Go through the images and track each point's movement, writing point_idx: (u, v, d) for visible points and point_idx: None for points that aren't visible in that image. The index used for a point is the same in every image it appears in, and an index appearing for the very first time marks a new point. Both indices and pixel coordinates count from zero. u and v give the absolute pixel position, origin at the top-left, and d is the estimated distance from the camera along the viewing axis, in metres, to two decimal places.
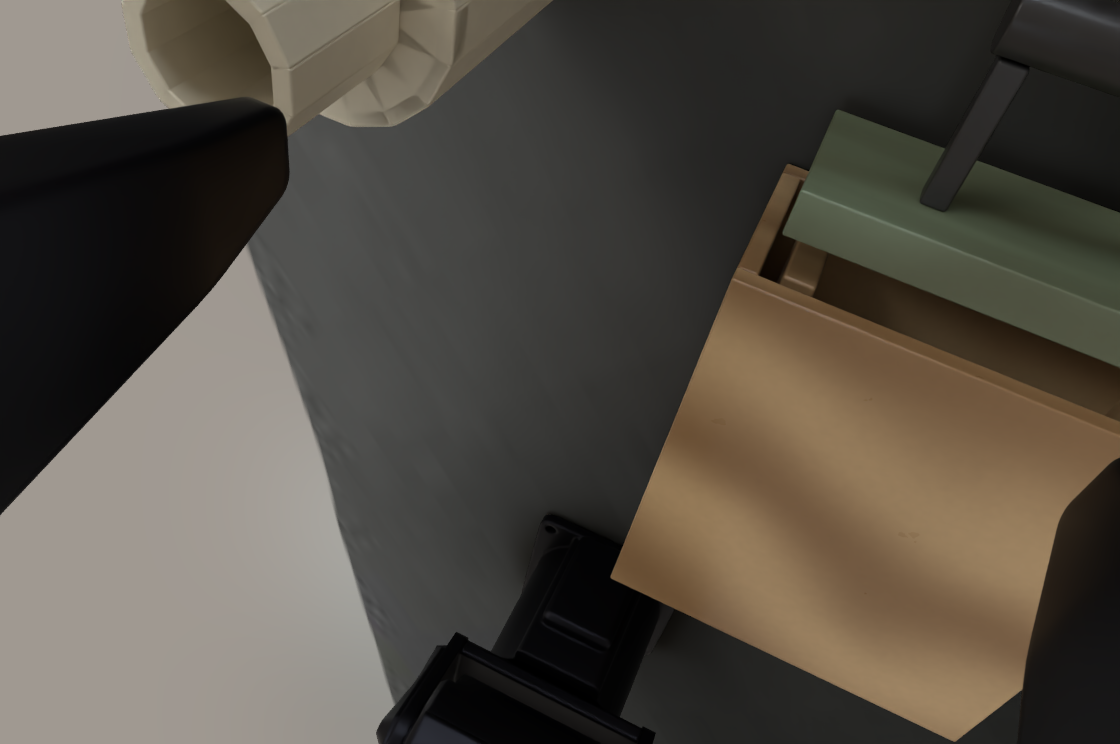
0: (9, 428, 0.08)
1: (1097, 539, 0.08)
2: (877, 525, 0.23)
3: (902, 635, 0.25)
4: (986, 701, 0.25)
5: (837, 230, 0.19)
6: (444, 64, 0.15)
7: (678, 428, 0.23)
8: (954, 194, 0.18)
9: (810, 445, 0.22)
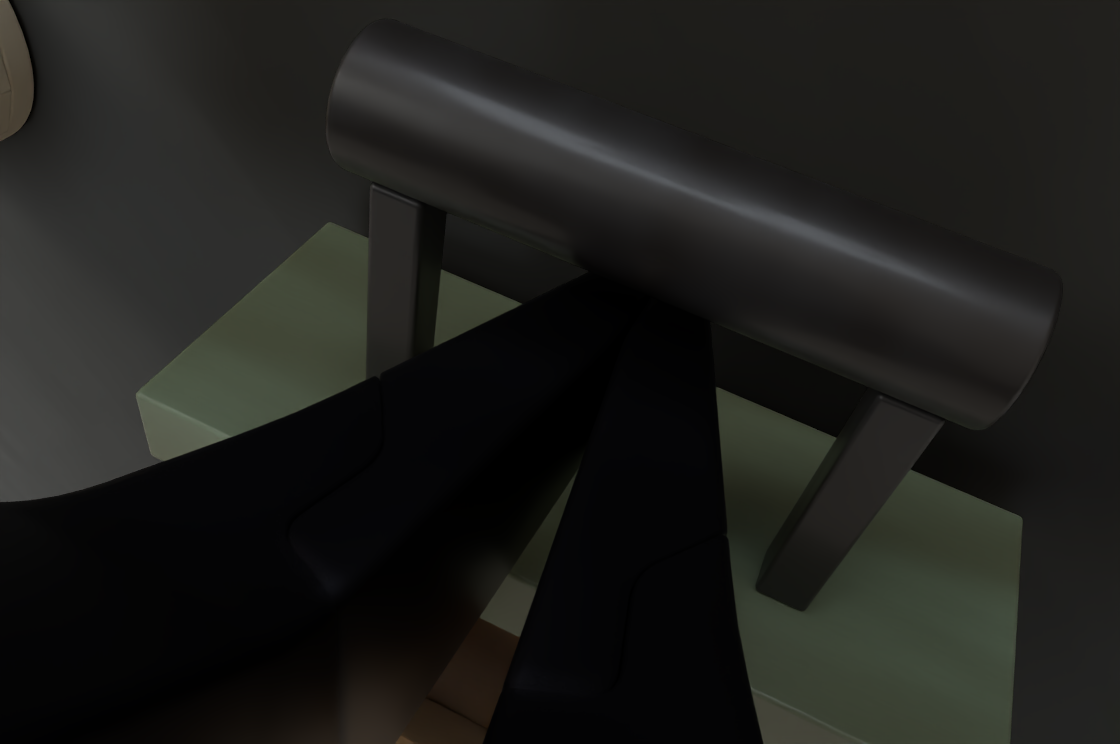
0: (439, 645, 0.07)
1: None
2: None
3: None
4: None
5: None
6: None
7: None
8: None
9: None
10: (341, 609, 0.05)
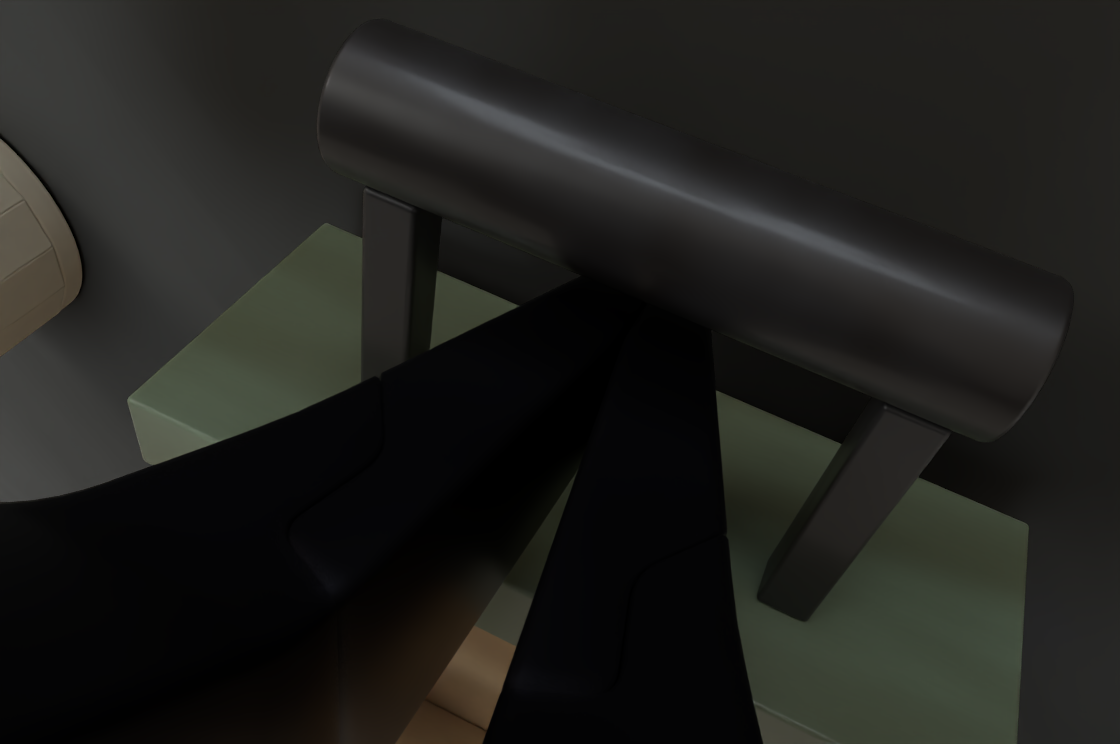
0: (439, 645, 0.07)
1: None
2: None
3: None
4: None
5: None
6: None
7: None
8: None
9: None
10: (341, 609, 0.05)
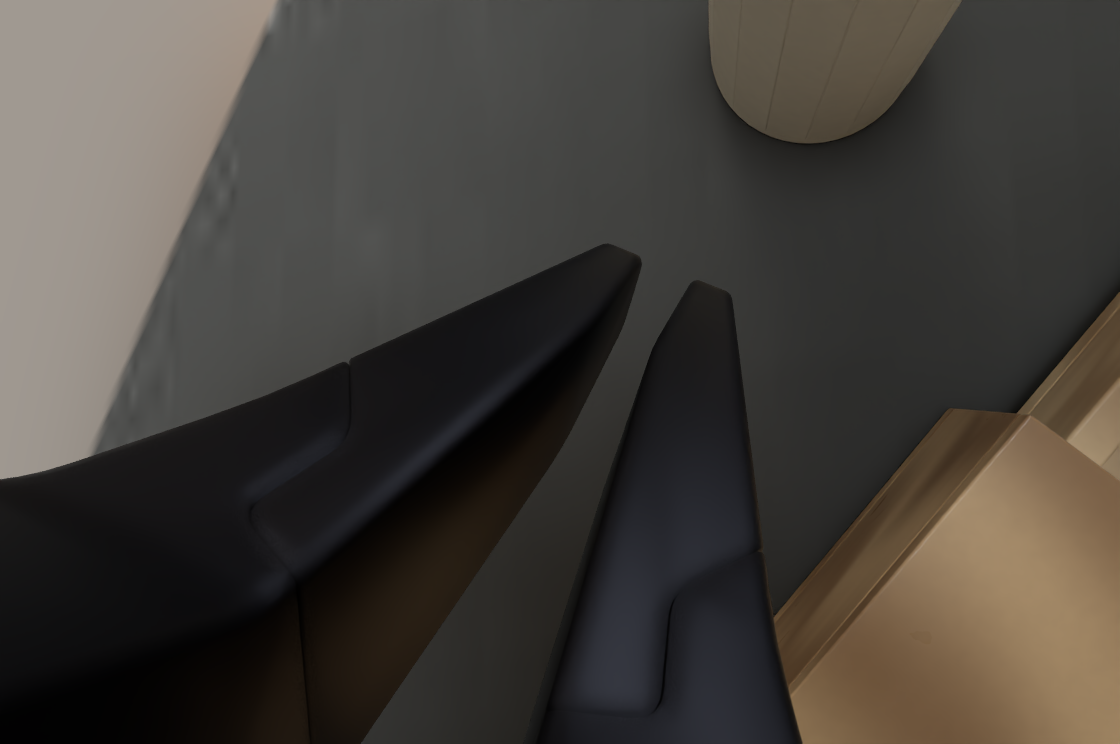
0: (412, 633, 0.07)
1: None
2: None
3: None
4: None
5: None
6: None
7: (851, 640, 0.16)
8: None
9: (1046, 699, 0.16)
10: (301, 590, 0.05)
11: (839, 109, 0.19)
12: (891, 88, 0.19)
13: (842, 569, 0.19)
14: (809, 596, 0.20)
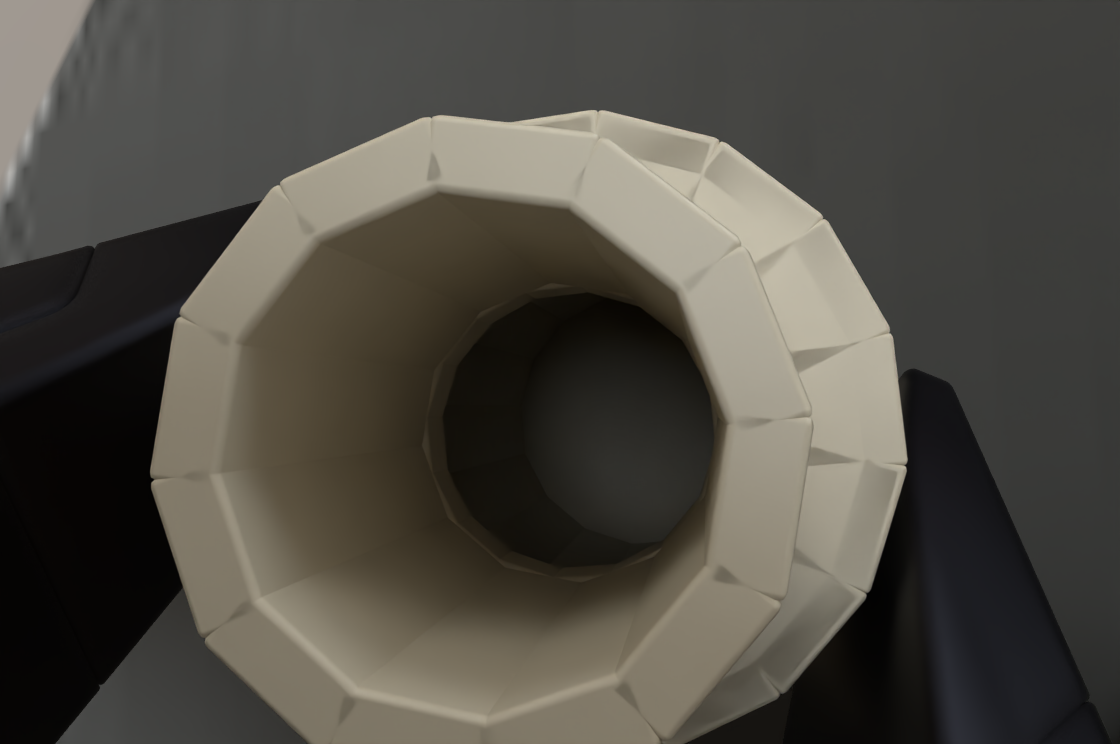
0: None
1: None
2: None
3: None
4: None
5: None
6: (770, 686, 0.07)
7: None
8: None
9: None
10: None
11: None
12: None
13: None
14: None
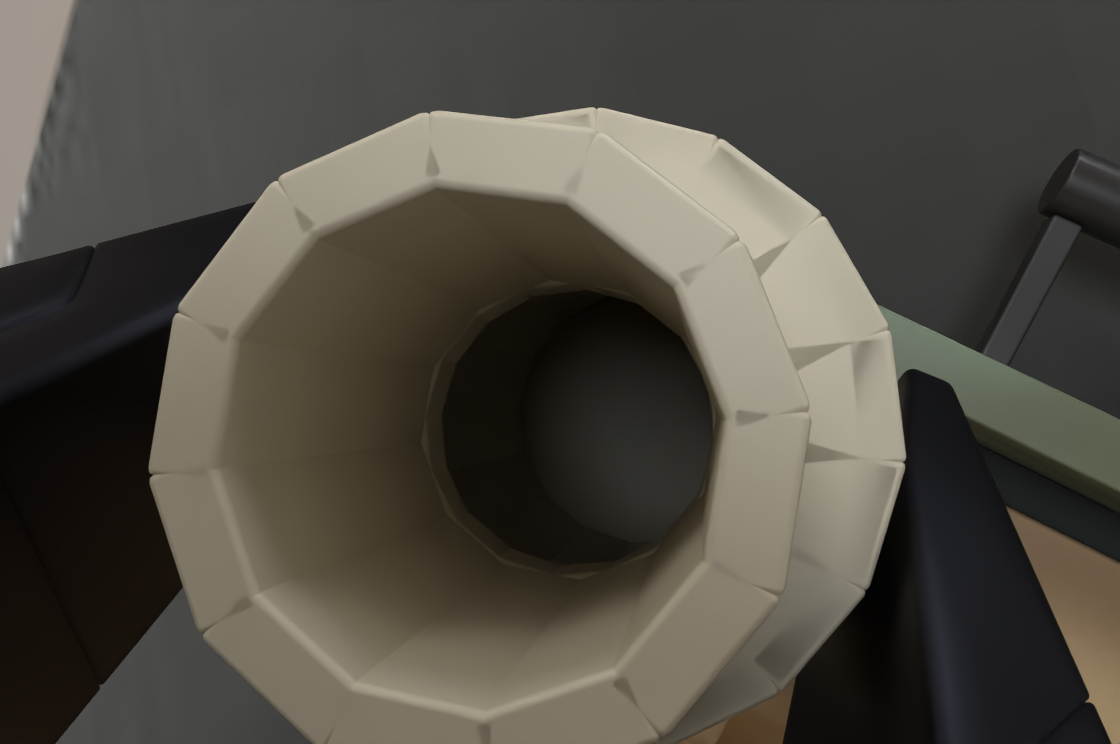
0: None
1: None
2: None
3: None
4: None
5: (913, 354, 0.17)
6: (769, 683, 0.07)
7: None
8: (1014, 352, 0.18)
9: None
10: None
11: None
12: None
13: None
14: None
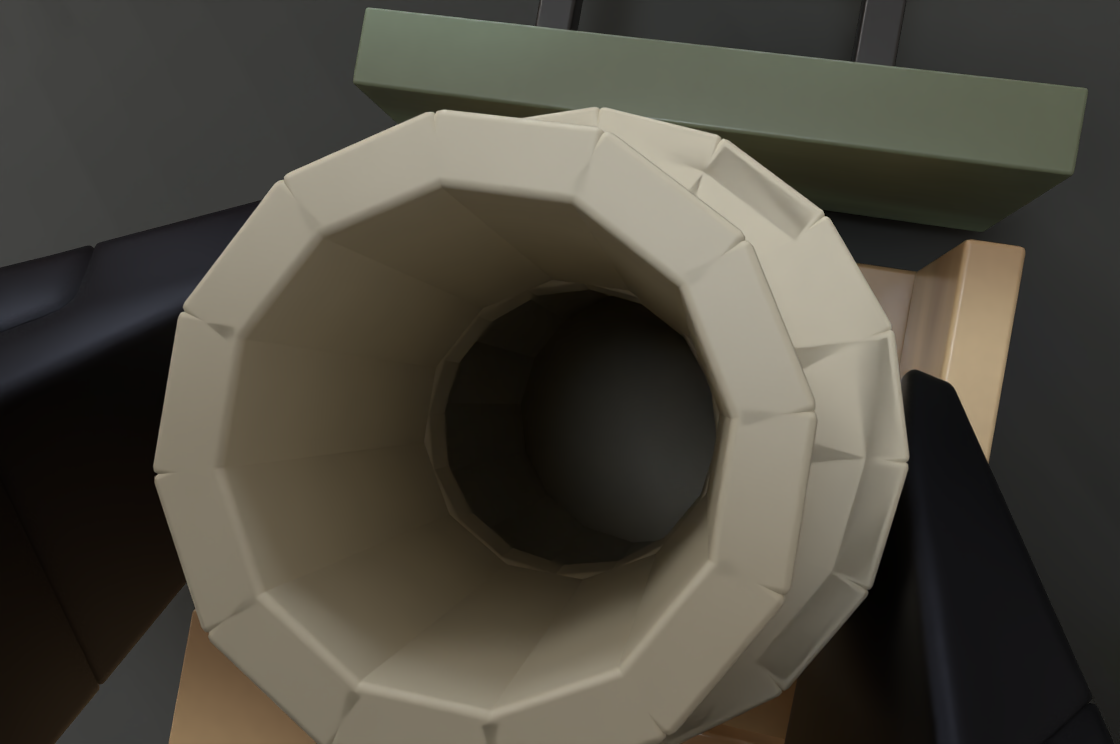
0: None
1: None
2: None
3: None
4: None
5: (422, 50, 0.13)
6: (772, 683, 0.07)
7: None
8: (568, 26, 0.14)
9: None
10: None
11: None
12: None
13: None
14: None
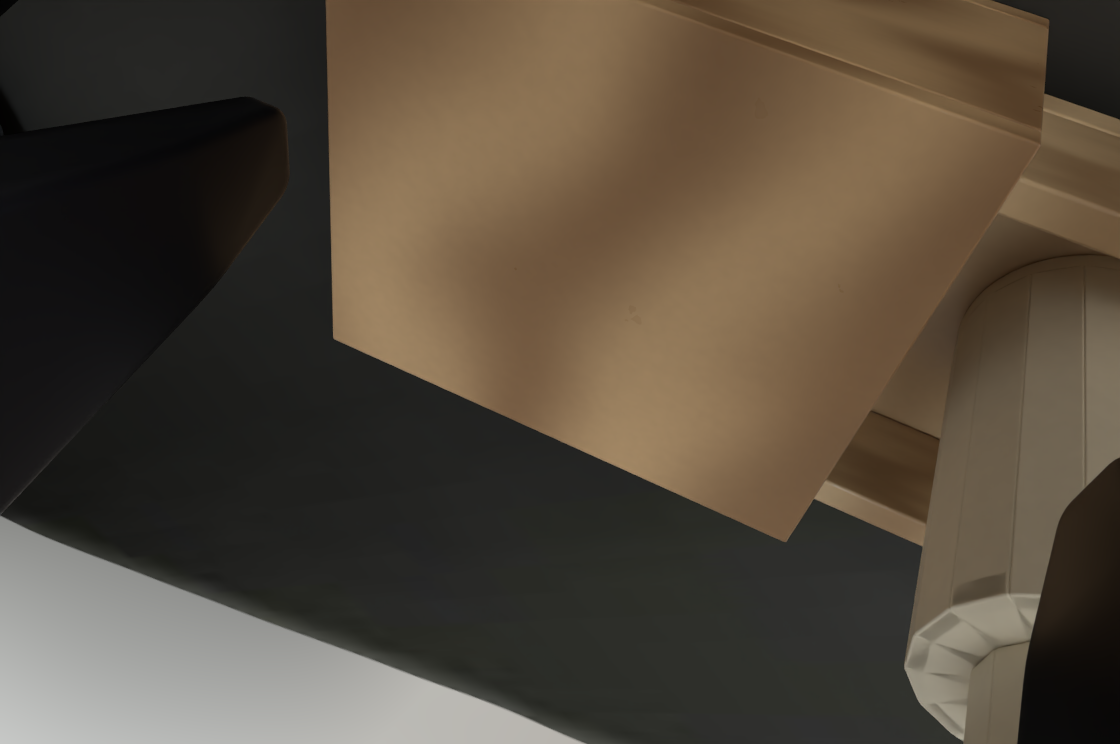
0: (10, 428, 0.08)
1: (1097, 539, 0.08)
2: (636, 286, 0.19)
3: (468, 301, 0.21)
4: (418, 367, 0.24)
5: None
6: (924, 703, 0.15)
7: (729, 45, 0.15)
8: None
9: (747, 224, 0.17)
10: None
11: (946, 403, 0.19)
12: None
13: None
14: None
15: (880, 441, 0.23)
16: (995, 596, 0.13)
